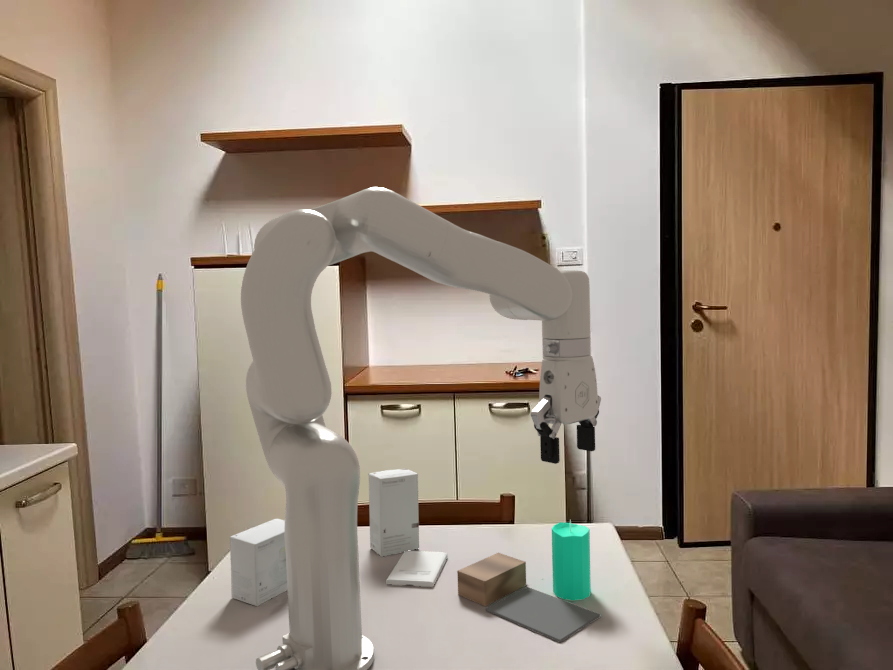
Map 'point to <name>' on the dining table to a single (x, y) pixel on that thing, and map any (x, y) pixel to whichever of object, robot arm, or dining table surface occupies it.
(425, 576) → the external hard drive
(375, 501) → the skincare box
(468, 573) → the step block
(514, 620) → the mat
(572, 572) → the candle
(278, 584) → the skincare box
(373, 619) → the dining table surface
